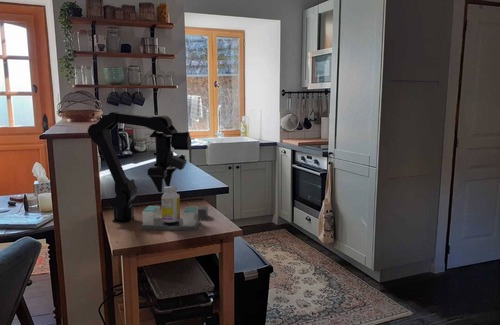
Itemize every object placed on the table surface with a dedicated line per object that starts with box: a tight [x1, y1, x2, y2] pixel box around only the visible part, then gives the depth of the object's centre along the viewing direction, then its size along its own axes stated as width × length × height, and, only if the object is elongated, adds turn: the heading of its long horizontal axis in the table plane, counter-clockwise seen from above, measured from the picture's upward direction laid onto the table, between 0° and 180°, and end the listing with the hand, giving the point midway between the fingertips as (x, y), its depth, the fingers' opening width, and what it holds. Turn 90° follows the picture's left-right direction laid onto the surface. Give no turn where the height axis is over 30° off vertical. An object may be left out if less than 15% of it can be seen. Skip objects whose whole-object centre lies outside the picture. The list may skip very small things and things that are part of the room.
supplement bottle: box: [161, 185, 181, 222], centre depth 144 cm, size 7×7×13 cm
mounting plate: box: [140, 205, 201, 232], centre depth 144 cm, size 20×9×7 cm, turn 86°
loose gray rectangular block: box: [194, 206, 209, 220], centre depth 154 cm, size 5×4×4 cm
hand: (164, 189), depth 148 cm, fingers open, 9 cm apart
